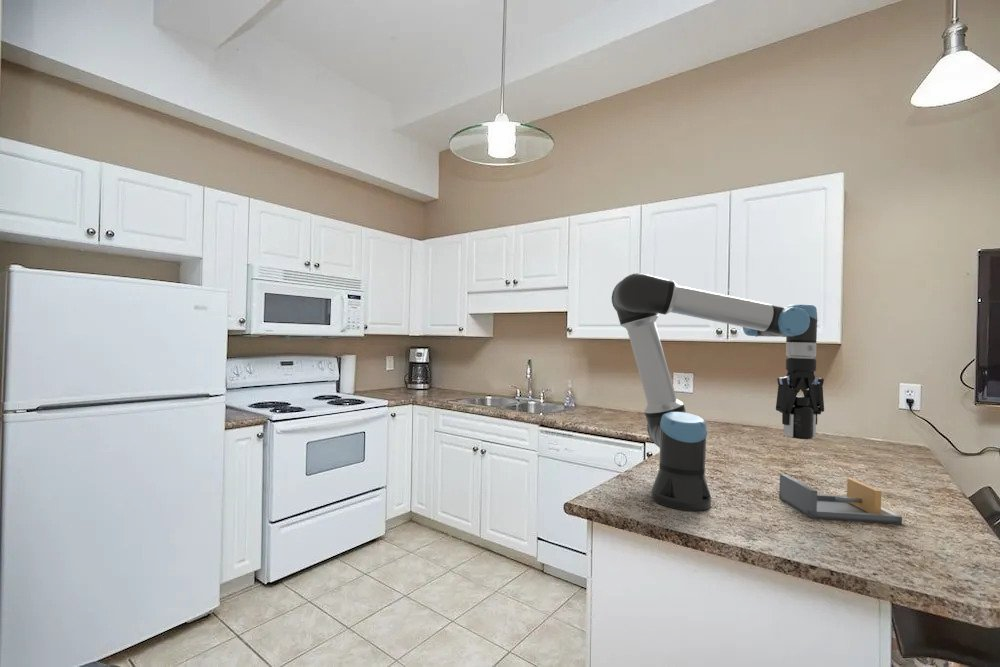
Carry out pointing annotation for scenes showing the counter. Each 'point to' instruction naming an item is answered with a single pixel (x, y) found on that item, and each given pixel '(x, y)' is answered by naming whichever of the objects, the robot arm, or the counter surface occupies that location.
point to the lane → (827, 504)
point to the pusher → (862, 496)
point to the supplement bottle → (802, 418)
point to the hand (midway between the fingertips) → (799, 435)
